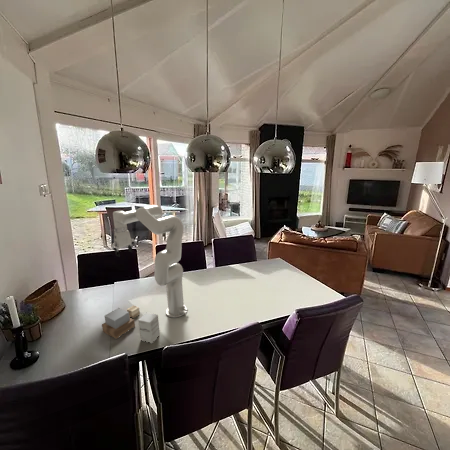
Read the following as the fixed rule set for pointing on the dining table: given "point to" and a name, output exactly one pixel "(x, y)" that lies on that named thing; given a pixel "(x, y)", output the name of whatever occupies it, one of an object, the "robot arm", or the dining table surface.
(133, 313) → the ash cube
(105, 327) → the base block
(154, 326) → the supplement box
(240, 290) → the dining table surface
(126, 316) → the top block
